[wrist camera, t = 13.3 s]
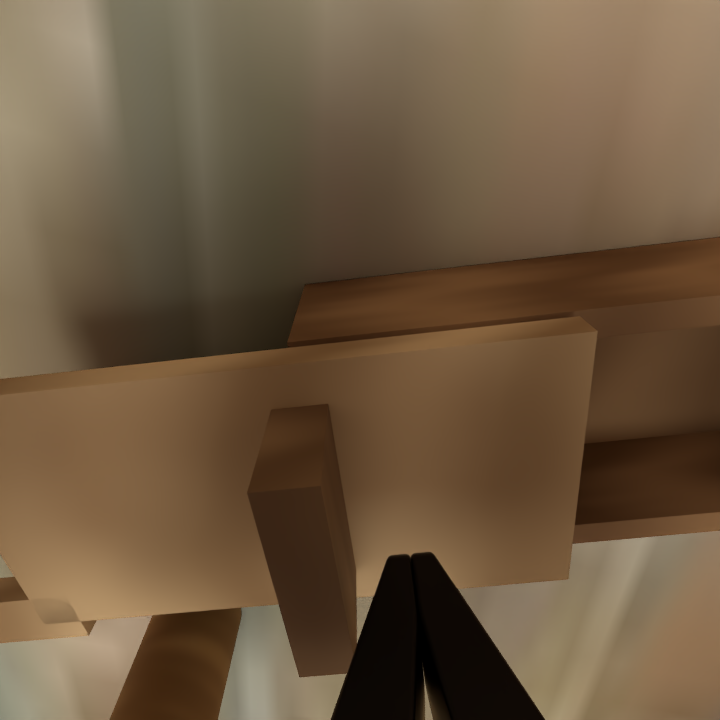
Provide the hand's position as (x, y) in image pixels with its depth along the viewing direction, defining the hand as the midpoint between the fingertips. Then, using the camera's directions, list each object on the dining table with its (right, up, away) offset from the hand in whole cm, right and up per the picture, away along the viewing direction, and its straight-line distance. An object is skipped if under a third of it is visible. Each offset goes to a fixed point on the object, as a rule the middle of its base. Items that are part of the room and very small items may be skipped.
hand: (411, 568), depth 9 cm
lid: (-4, +1, +3) cm, 5 cm away
